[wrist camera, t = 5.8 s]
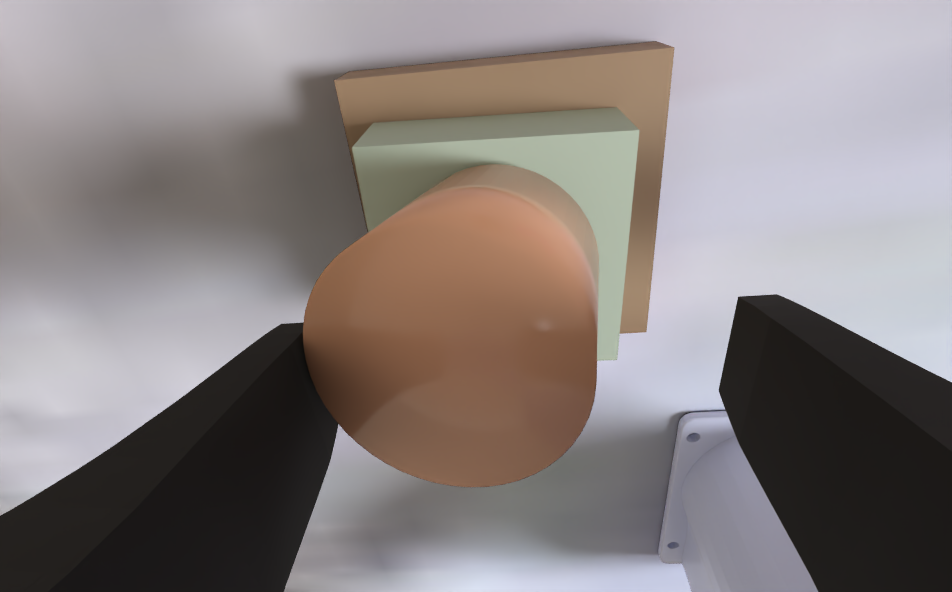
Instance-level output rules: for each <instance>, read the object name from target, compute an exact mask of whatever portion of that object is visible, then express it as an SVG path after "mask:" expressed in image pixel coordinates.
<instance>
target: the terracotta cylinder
mask: <svg viewBox="0 0 952 592" xmlns="http://www.w3.org/2000/svg"><path fill="white" fill-rule="evenodd" d="M598 299H599V252H598V246H597V241H596V238H595V235H594V232H593V229H592V227H591V225H590V223H589V221H588V218H587V217H586V215H585V214H584V212H583V211H582V209H581V208H580V206H579V205H578V204H577V203H576V201H575V200H574V199H573V198H572V197H571V196H570V195H569V194H568V193H567V192H566V191H565V190H563V189H562V188H561V187H560V186H559V185H557V184H556V183H554V182H553V181H551V180H550V179H548V178H546V177H544V176H542V175H540V174H538V173H536V172H533V171H530V170H527V169H524V168H521V167H516V166H511V165H500V164H490V165H479V166H475V167H470V168H466V169H464V170H461V171H458V172H456V173H454V174H452V175H450V176H448V177H446V178H444V179H443V180H441V181H440V182H439V183H437V184H436V185H434V186H433V187H432V188H430V189H429V190H427V191H426V192H425V193H423V194H422V195H420V196H419V197H418V198H416V199H415V200H413V201H412V202H411V203H409V204H408V205H406V206H405V207H404V208H402V209H401V210H399V211H398V212H397V213H395V214H394V215H392V216H391V217H390V218H388V219H387V220H385V221H384V222H383V223H381V224H380V225H378V226H377V227H375V228H374V229H373V230H371V231H370V232H368V233H367V234H366V235H364V236H363V237H361V238H360V239H359V240H357V241H356V242H354V243H353V244H352V245H350V246H349V247H348V248H346V249H345V250H344V251H342V252H341V253H340V254H338V255H337V256H336V257H335V258H334V259H333V261H332V262H331V263H330V264H329V265H328V266H327V267H326V268H325V270H324V271H323V272H322V274H321V275H320V277H319V278H318V280H317V281H316V283H315V286H314V288H313V290H312V292H311V294H310V297H309V300H308V303H307V307H306V310H305V316H304V324H303V345H304V352H305V359H306V363H307V366H308V370H309V373H310V376H311V379H312V381H313V383H314V386H315V388H316V391H317V392H318V394H319V396H320V398H321V400H322V401H323V403H324V405H325V406H326V408H327V409H328V411H329V412H330V414H331V415H332V416H333V418H334V419H335V420H336V421H337V423H338V424H339V425H340V426H341V427H342V428H343V429H344V431H345V432H346V433H347V434H348V435H349V436H351V437H352V438H353V439H354V440H355V441H356V442H357V443H358V444H359V445H360V446H362V447H363V448H364V449H366V450H367V451H368V452H370V453H371V454H372V455H374V456H375V457H377V458H378V459H380V460H382V461H383V462H385V463H386V464H388V465H390V466H392V467H394V468H396V469H398V470H400V471H402V472H405V473H407V474H410V475H412V476H415V477H417V478H420V479H424V480H427V481H431V482H434V483H439V484H445V485H450V486H460V487H489V486H496V485H503V484H507V483H511V482H515V481H519V480H521V479H524V478H526V477H529V476H531V475H534V474H536V473H537V472H539V471H541V470H543V469H545V468H546V467H548V466H549V465H551V464H552V463H553V462H555V461H556V460H557V459H559V458H560V457H561V456H562V455H563V454H564V453H565V452H566V451H567V450H568V449H569V448H570V447H571V446H572V445H573V443H574V442H575V441H576V439H577V438H578V436H579V435H580V434H581V432H582V430H583V428H584V426H585V424H586V422H587V420H588V418H589V416H590V412H591V409H592V406H593V402H594V397H595V390H596V378H597V338H598Z"/></svg>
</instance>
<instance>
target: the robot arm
mask: <svg viewBox="0 0 952 592" xmlns="http://www.w3.org/2000/svg"><path fill="white" fill-rule="evenodd" d="M303 324H304V323H290V324H281V325H279V326H277V327H276V328H274V329H273V330H271V331H270V332H268V333H267V334H265V335H264V336H263V337H261V338H260V339H258V340H257V341H256V342H254V343H253V344H252V345H250V346H249V347H248V348H246V349H245V350H244V351H242V352H241V353H240V354H238V355H237V356H236V357H235V358H233V359H232V360H231V361H229V362H228V363H227V364H225V365H224V366H223V367H221V368H220V369H219V370H217V371H216V372H215V373H214V374H212V375H211V376H210V377H208V378H207V379H206V380H204V381H203V382H202V383H200V384H199V385H198V386H196V387H195V388H194V389H192V390H191V391H190V392H188V393H187V394H186V395H185V396H183V397H182V398H180V399H179V400H178V401H176V402H175V403H174V404H172V405H171V406H169V407H168V408H167V409H165V410H164V411H162V412H161V413H159V414H158V415H157V416H155V417H154V418H152V419H151V420H150V421H148V422H147V423H145V424H144V425H143V426H141V427H140V428H138V429H137V430H135V431H134V432H133V433H131V434H130V435H128V436H127V437H126V438H124V439H123V440H121V441H120V442H118V443H117V444H116V445H114V446H113V447H111V448H110V449H108V450H107V451H105V452H104V453H102V454H101V455H99V456H98V457H96V458H95V459H93V460H92V461H90V462H88V463H87V464H85V465H84V466H82V467H81V468H79V469H78V470H76V471H74V472H73V473H71V474H70V475H68V476H66V477H65V478H63V479H61V480H60V481H58V482H57V483H55V484H53V485H52V486H50V487H48V488H47V489H45V490H43V491H42V492H40V493H39V494H37V495H35V496H34V497H32V498H30V499H29V500H27V501H25V502H24V503H22V504H20V505H19V506H17V507H15V508H13V509H12V510H10V511H8V512H6V513H5V514H3V515H1V516H0V592H284V589H285V586H286V583H287V580H288V578H289V575H290V572H291V569H292V566H293V564H294V561H295V558H296V555H297V553H298V550H299V547H300V544H301V542H302V539H303V536H304V533H305V530H306V528H307V525H308V522H309V519H310V517H311V514H312V511H313V508H314V506H315V503H316V500H317V497H318V494H319V491H320V489H321V486H322V483H323V480H324V477H325V474H326V472H327V469H328V466H329V463H330V460H331V455H332V451H333V447H334V442H335V438H336V433H337V428H338V423H337V421H336V420H335V419H334V418H333V416H332V415H331V414H330V412H329V411H328V409H327V408H326V406H325V405H324V403H323V401H322V400H321V398H320V396H319V394H318V392H317V391H316V388H315V386H314V383H313V381H312V379H311V376H310V373H309V370H308V366H307V363H306V359H305V352H304V345H303ZM719 393H720V396H721V398H722V401H723V404H724V407H725V409H726V411H715V412H693V413H688V414H686V415H684V416H683V417H682V418H681V419H680V421H679V425H678V431H677V437H676V443H675V450H674V456H673V462H672V468H671V474H670V480H669V486H668V493H667V499H666V505H665V511H664V517H663V523H662V530H661V536H660V542H659V548H658V554H659V557H660V560H661V561H662V562H664V563H669V564H674V563H682V564H683V567H684V570H685V573H686V576H687V579H688V582H689V585H690V588H691V591H692V592H952V382H950V381H948V380H946V379H944V378H942V377H940V376H937V375H935V374H933V373H931V372H929V371H927V370H925V369H923V368H921V367H919V366H917V365H916V364H914V363H912V362H910V361H908V360H906V359H904V358H902V357H900V356H898V355H896V354H894V353H892V352H890V351H888V350H886V349H884V348H882V347H881V346H879V345H877V344H875V343H873V342H871V341H869V340H867V339H865V338H863V337H861V336H860V335H858V334H856V333H854V332H852V331H850V330H848V329H846V328H844V327H842V326H841V325H839V324H837V323H835V322H833V321H831V320H829V319H827V318H825V317H823V316H821V315H819V314H817V313H815V312H813V311H812V310H810V309H808V308H806V307H804V306H801V305H799V304H797V303H795V302H793V301H791V300H789V299H786V298H784V297H782V296H779V295H760V296H743V297H738V301H737V305H736V310H735V315H734V320H733V325H732V329H731V334H730V339H729V344H728V348H727V353H726V358H725V363H724V368H723V372H722V377H721V382H720V387H719ZM691 433H694V434H691ZM689 434H691V435H689Z"/></svg>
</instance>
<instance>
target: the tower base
mask: <svg viewBox="0 0 952 592" xmlns="http://www.w3.org/2000/svg"><path fill="white" fill-rule="evenodd" d="M673 56H674V47H671V46H669V45H666V44H663V43H660V42H657V41H655V42H645V43H635V44H624V45H614V46H604V47H594V48H584V49H574V50H564V51H553V52H543V53H533V54H523V55H513V56H503V57H492V58H482V59H472V60H462V61H452V62H442V63H431V64H421V65H411V66H401V67H391V68H381V69H371V70H360V71H350V72H348V73H346V74H344V75H343V76H341V77H339V78H338V79H336V80H334V82H335V87H336V91H337V96H338V100H339V105H340V109H341V114H342V118H343V123H344V128H345V132H346V137H347V141H348V146H349V150H350V155H351V159H352V164H353V168H354V173H355V177H356V182H357V186H358V191H359V195H360V200H361V204H362V209H363V213H364V207H363V202H362V197H361V192H360V187H359V182H358V177H357V171H356V166H355V161H354V156H353V151H352V147H353V146H354V144H355V143H356V142H357V141H358V140H359V139H360V138H361V136H362V135H363V134H364V133H365V132H366V131H367V129H368V128H369V127H370V126H371V125H372V124H373V123H377V122H393V121H408V120H424V119H440V118H456V117H471V116H487V115H503V114H519V113H534V112H550V111H566V110H582V109H597V108H613V107H617V108H618V109H619V110H620V111H621V112H622V113H623V114H624V115H625V116H626V117H627V118H628V119H629V120H630V121H631V122H632V123H633V124H634V125H635V126H636V127H637V128H638V129H639V141H638V151H637V161H636V171H635V181H634V192H633V202H632V212H631V222H630V232H629V242H628V253H627V263H626V273H625V283H624V293H623V304H622V314H621V324H620V334H621V333H638V332H646V330H647V320H648V310H649V300H650V289H651V279H652V269H653V259H654V249H655V239H656V229H657V218H658V208H659V198H660V188H661V178H662V168H663V157H664V147H665V137H666V127H667V117H668V107H669V96H670V86H671V76H672V66H673ZM364 218H365V213H364ZM365 222H366V218H365ZM366 227H367V223H366ZM367 231H368V228H367Z"/></svg>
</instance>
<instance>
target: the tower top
mask: <svg viewBox="0 0 952 592" xmlns="http://www.w3.org/2000/svg"><path fill="white" fill-rule="evenodd" d="M638 141H639V129H638V128H637V127H636V126H635V125H634V124H633V123H632V122H631V121H630V120H629V119H628V118H627V117H626V116H625V115H624V114H623V113H622V112H621V111H620V110H619V109H618V108H617V107H613V108H597V109H582V110H566V111H550V112H534V113H519V114H503V115H487V116H471V117H456V118H440V119H424V120H408V121H393V122H377V123H373V124H372V125H371V126H370V127H369V128H368V129H367V131H366V132H365V133H364V134H363V135H362V136H361V138H360V139H359V140H358V141H357V142H356V143H355V144H354V146H353V147H352V151H353V156H354V161H355V166H356V171H357V177H358V182H359V187H360V192H361V197H362V202H363V207H364V213H365V218H366V223H367V228H368V232H370V231H371V230H373V229H374V228H375V227H377V226H378V225H380V224H381V223H383V222H384V221H385V220H387V219H388V218H390V217H391V216H392V215H394V214H395V213H397V212H398V211H399V210H401V209H402V208H404V207H405V206H406V205H408V204H409V203H411V202H412V201H413V200H415V199H416V198H418V197H419V196H420V195H422V194H423V193H425V192H426V191H427V190H429V189H430V188H432V187H433V186H434V185H436V184H437V183H439V182H440V181H441V180H443V179H444V178H446V177H448V176H450V175H452V174H454V173H456V172H458V171H461V170H464V169H466V168H470V167H475V166H479V165H490V164H500V165H511V166H516V167H521V168H524V169H527V170H530V171H533V172H536V173H538V174H540V175H542V176H544V177H546V178H548V179H550V180H551V181H553V182H554V183H556V184H557V185H559V186H560V187H561V188H562V189H563V190H565V191H566V192H567V193H568V194H569V195H570V196H571V197H572V198H573V199H574V200H575V201H576V203H577V204H578V205H579V206H580V208H581V209H582V211H583V212H584V214H585V215H586V217H587V218H588V221H589V223H590V225H591V227H592V229H593V232H594V235H595V238H596V241H597V246H598V252H599V299H598V338H597V361H601V360H617V355H618V344H619V334H620V324H621V314H622V304H623V293H624V283H625V273H626V263H627V253H628V242H629V232H630V222H631V212H632V202H633V192H634V181H635V171H636V161H637V151H638Z"/></svg>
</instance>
